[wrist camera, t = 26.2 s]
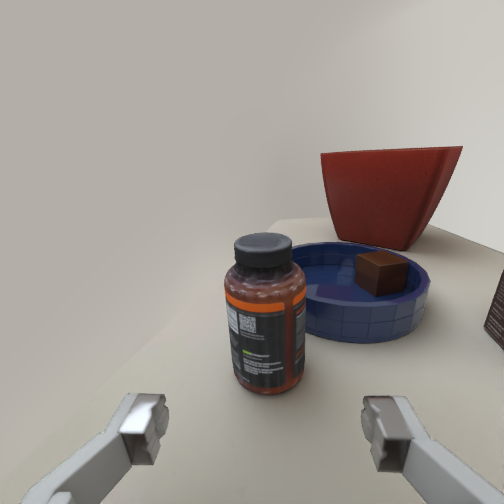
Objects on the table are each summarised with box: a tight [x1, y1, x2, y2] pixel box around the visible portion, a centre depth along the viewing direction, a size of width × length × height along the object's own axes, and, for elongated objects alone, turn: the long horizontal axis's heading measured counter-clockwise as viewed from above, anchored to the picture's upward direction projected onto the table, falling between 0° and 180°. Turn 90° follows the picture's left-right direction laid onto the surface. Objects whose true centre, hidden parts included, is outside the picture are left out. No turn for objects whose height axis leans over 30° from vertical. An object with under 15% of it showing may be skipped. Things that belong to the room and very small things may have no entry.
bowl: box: [291, 242, 431, 343], centre depth 31 cm, size 18×18×4 cm
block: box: [354, 250, 409, 297], centre depth 31 cm, size 4×4×4 cm
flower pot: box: [321, 146, 463, 250], centre depth 49 cm, size 19×19×17 cm
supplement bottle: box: [224, 233, 306, 395], centre depth 19 cm, size 6×6×11 cm
